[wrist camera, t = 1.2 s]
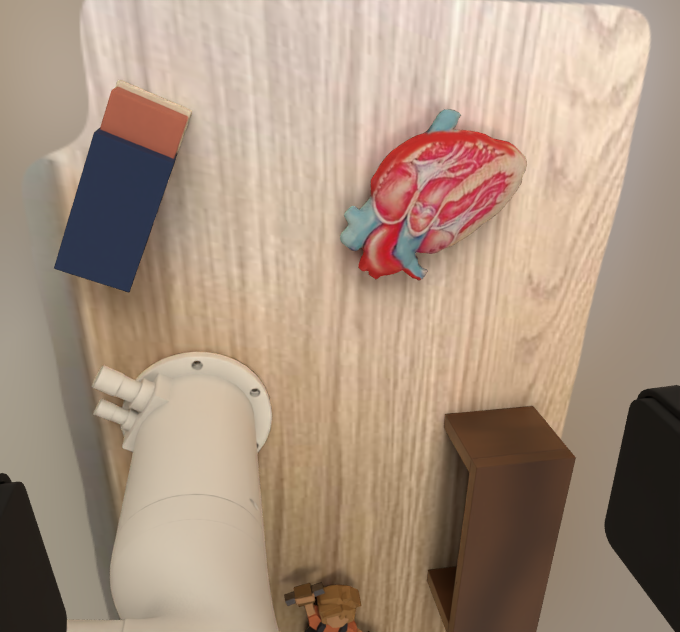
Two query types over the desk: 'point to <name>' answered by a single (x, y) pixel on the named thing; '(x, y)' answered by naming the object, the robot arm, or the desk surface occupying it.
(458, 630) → the shoe shelf
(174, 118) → the navy and orange box
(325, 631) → the character figurine
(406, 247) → the anatomical model
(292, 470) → the desk surface
